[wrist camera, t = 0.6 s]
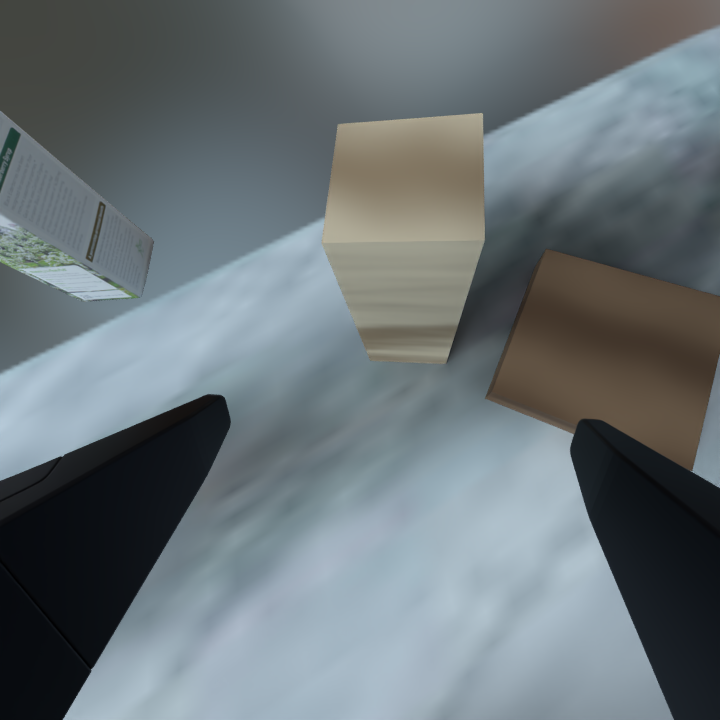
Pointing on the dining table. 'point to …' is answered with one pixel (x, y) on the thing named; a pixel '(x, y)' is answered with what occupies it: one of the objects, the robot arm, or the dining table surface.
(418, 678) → the dining table surface
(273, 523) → the dining table surface
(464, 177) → the maple block
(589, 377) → the walnut block
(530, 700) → the dining table surface
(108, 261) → the syrup box
